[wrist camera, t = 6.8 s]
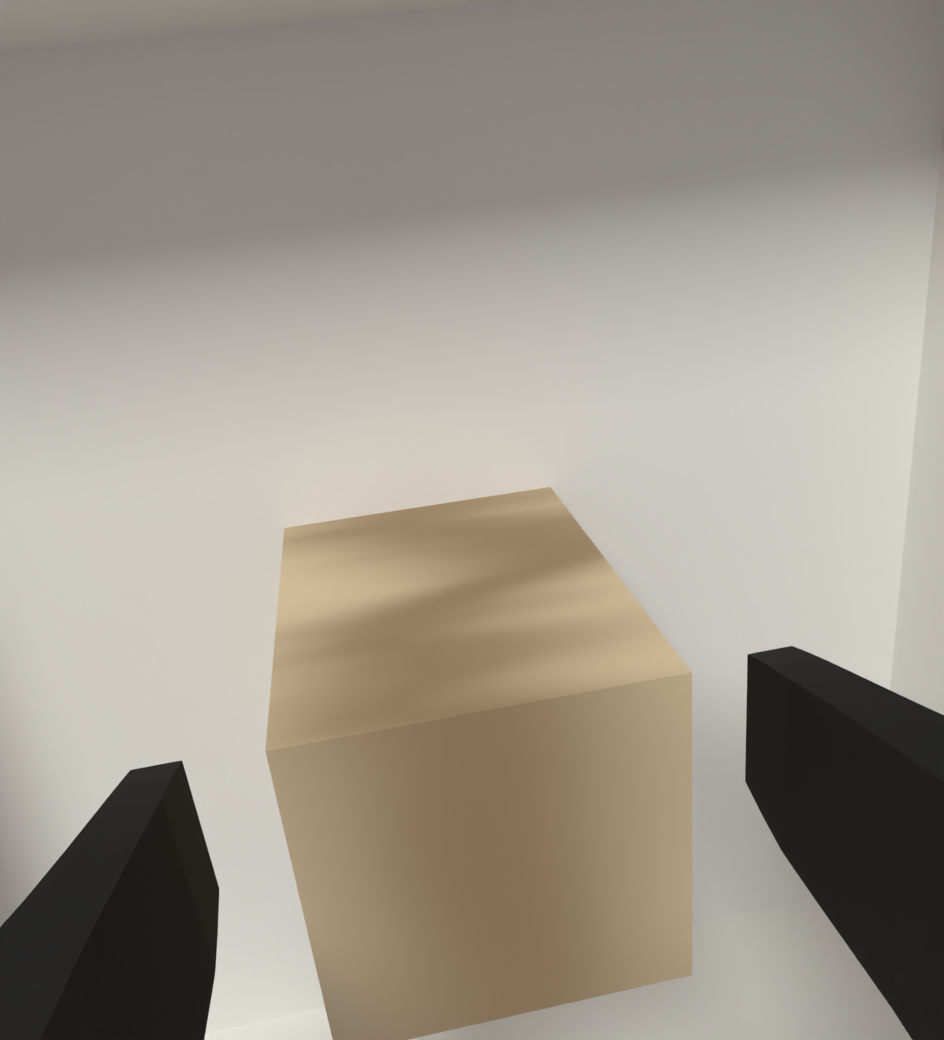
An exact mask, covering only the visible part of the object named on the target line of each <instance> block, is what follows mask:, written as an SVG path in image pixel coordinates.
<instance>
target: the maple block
mask: <svg viewBox="0 0 944 1040" xmlns="http://www.w3.org/2000/svg"><path fill="white" fill-rule="evenodd" d="M265 752H266V756H267V760H268V765H269V769H270V773H271V778H272V782H273V786H274V790H275V795H276V799H277V803H278V808H279V812H280V816H281V820H282V825H283V829H284V833H285V838H286V842H287V846H288V850H289V855H290V859H291V863H292V868H293V872H294V876H295V880H296V885H297V889H298V893H299V898H300V902H301V906H302V910H303V915H304V919H305V923H306V928H307V932H308V936H309V940H310V945H311V949H312V953H313V958H314V962H315V966H316V970H317V975H318V979H319V983H320V988H321V992H322V996H323V1000H324V1005H325V1009H326V1013H327V1018H328V1022H329V1026H330V1031H331V1035H332V1039H333V1040H409V1039H414V1038H418V1037H423V1036H427V1035H431V1034H436V1033H440V1032H444V1031H449V1030H453V1029H458V1028H462V1027H466V1026H471V1025H475V1024H480V1023H484V1022H488V1021H493V1020H497V1019H502V1018H506V1017H510V1016H515V1015H519V1014H524V1013H528V1012H532V1011H537V1010H541V1009H545V1008H550V1007H554V1006H559V1005H563V1004H567V1003H572V1002H576V1001H581V1000H585V999H589V998H594V997H598V996H603V995H607V994H611V993H616V992H620V991H625V990H629V989H633V988H638V987H642V986H646V985H651V984H655V983H660V982H664V981H668V980H673V979H677V978H682V977H686V976H690V975H692V672H691V671H690V669H689V668H688V667H687V666H686V664H685V663H684V662H683V660H682V659H681V658H680V656H679V655H678V654H677V652H676V651H675V650H674V648H673V647H672V646H671V645H670V643H669V642H668V641H667V639H666V638H665V637H664V635H663V634H662V633H661V631H660V630H659V629H658V627H657V626H656V625H655V623H654V622H653V621H652V620H651V618H650V617H649V616H648V614H647V613H646V612H645V610H644V609H643V608H642V606H641V605H640V604H639V602H638V601H637V600H636V599H635V597H634V596H633V595H632V593H631V592H630V591H629V589H628V588H627V587H626V585H625V584H624V583H623V581H622V580H621V579H620V578H619V576H618V575H617V574H616V572H615V571H614V570H613V568H612V567H611V566H610V564H609V563H608V562H607V560H606V559H605V558H604V556H603V555H602V554H601V553H600V551H599V550H598V549H597V547H596V546H595V545H594V543H593V542H592V541H591V539H590V538H589V537H588V535H587V534H586V533H585V532H584V530H583V529H582V528H581V526H580V525H579V524H578V522H577V521H576V520H575V518H574V517H573V516H572V514H571V513H570V512H569V511H568V509H567V508H566V507H565V505H564V504H563V503H562V501H561V500H560V499H559V497H558V496H557V495H556V493H555V492H554V491H553V489H552V488H551V487H546V488H540V489H534V490H527V491H521V492H514V493H508V494H501V495H495V496H488V497H482V498H475V499H469V500H462V501H456V502H449V503H443V504H436V505H430V506H423V507H417V508H410V509H404V510H398V511H391V512H385V513H378V514H372V515H365V516H359V517H352V518H346V519H339V520H333V521H326V522H320V523H313V524H307V525H300V526H294V527H287V528H284V537H283V549H282V561H281V573H280V584H279V596H278V608H277V620H276V632H275V643H274V655H273V667H272V679H271V690H270V702H269V714H268V726H267V737H266V749H265Z"/></svg>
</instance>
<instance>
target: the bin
mask: <svg viewBox="0 0 944 1040" xmlns="http://www.w3.org/2000/svg"><path fill="white" fill-rule="evenodd" d="M546 487H551V488H552V489H553V491H554V492H555V493H556V495H557V496H558V497H559V499H560V500H561V501H562V503H563V504H564V505H565V507H566V508H567V509H568V511H569V512H570V513H571V514H572V516H573V517H574V518H575V520H576V521H577V522H578V524H579V525H580V526H581V528H582V529H583V530H584V532H585V533H586V534H587V535H588V537H589V538H590V539H591V541H592V542H593V543H594V545H595V546H596V547H597V549H598V550H599V551H600V553H601V554H602V555H603V556H604V558H605V559H606V560H607V562H608V563H609V564H610V566H611V567H612V568H613V570H614V571H615V572H616V574H617V575H618V576H619V578H620V579H621V580H622V581H623V583H624V584H625V585H626V587H627V588H628V589H629V591H630V592H631V593H632V595H633V596H634V597H635V599H636V600H637V601H638V602H639V604H640V605H641V606H642V608H643V609H644V610H645V612H646V613H647V614H648V616H649V617H650V618H651V620H652V621H653V622H654V623H655V625H656V626H657V627H658V629H659V630H660V631H661V633H662V634H663V635H664V637H665V638H666V639H667V641H668V642H669V643H670V645H671V646H672V647H673V648H674V650H675V651H676V652H677V654H678V655H679V656H680V658H681V659H682V660H683V662H684V663H685V664H686V666H687V667H688V668H689V669H690V671H691V672H692V975H690V976H686V977H682V978H677V979H673V980H668V981H664V982H660V983H655V984H651V985H646V986H642V987H638V988H633V989H629V990H625V991H620V992H616V993H611V994H607V995H603V996H598V997H594V998H589V999H585V1000H581V1001H576V1002H572V1003H567V1004H563V1005H559V1006H554V1007H550V1008H545V1009H541V1010H537V1011H532V1012H528V1013H524V1014H519V1015H515V1016H510V1017H506V1018H502V1019H497V1020H493V1021H488V1022H484V1023H480V1024H475V1025H471V1026H466V1027H462V1028H458V1029H453V1030H449V1031H444V1032H440V1033H436V1034H431V1035H427V1036H423V1037H418V1038H414V1039H409V1040H912V1039H911V1037H910V1036H909V1034H908V1032H907V1031H906V1029H905V1028H904V1026H903V1025H902V1023H901V1022H900V1020H899V1019H898V1017H897V1016H896V1014H895V1012H894V1011H893V1009H892V1008H891V1006H890V1005H889V1004H888V1002H887V1001H886V999H885V998H884V996H883V995H882V994H881V992H880V991H879V989H878V988H877V987H876V985H875V984H874V982H873V981H872V979H871V978H870V977H869V975H868V974H867V972H866V971H865V970H864V968H863V967H862V965H861V964H860V962H859V961H858V960H857V958H856V957H855V955H854V954H853V953H852V951H851V950H850V948H849V947H848V945H847V944H846V943H845V941H844V940H843V938H842V937H841V936H840V934H839V933H838V931H837V930H836V928H835V927H834V926H833V924H832V923H831V921H830V920H829V919H828V917H827V916H826V914H825V913H824V912H823V910H822V909H821V907H820V906H819V904H818V903H817V902H816V900H815V899H814V897H813V896H812V894H811V893H810V891H809V890H808V889H807V887H806V886H805V884H804V883H803V881H802V880H801V878H800V877H799V876H798V874H797V873H796V871H795V870H794V868H793V867H792V865H791V864H790V863H789V861H788V860H787V858H786V857H785V855H784V854H783V852H782V851H781V849H780V847H779V845H778V843H777V842H776V840H775V838H774V836H773V834H772V832H771V831H770V829H769V827H768V825H767V823H766V821H765V820H764V818H763V816H762V814H761V812H760V810H759V808H758V806H757V804H756V802H755V800H754V798H753V796H752V794H751V792H750V790H749V788H748V786H747V784H746V782H745V763H746V709H747V655H748V654H751V653H757V652H762V651H767V650H773V649H778V648H783V647H789V646H794V647H796V648H799V649H801V650H804V651H806V652H809V653H811V654H813V655H816V656H818V657H820V658H822V659H825V660H827V661H829V662H831V663H833V664H836V665H838V666H840V667H842V668H844V669H846V670H848V671H851V672H853V673H855V674H857V675H859V676H861V677H863V678H865V679H867V680H870V681H872V682H874V683H876V684H878V685H880V686H882V687H884V688H886V689H888V690H891V691H893V692H895V693H897V694H899V695H901V696H903V697H905V698H908V699H910V700H912V701H914V702H916V703H918V704H920V705H923V706H925V707H927V708H929V709H931V710H933V711H936V712H938V713H940V714H942V715H944V0H0V927H1V925H2V924H3V923H4V922H5V921H6V920H7V919H8V918H9V917H10V915H11V914H12V913H13V912H14V911H15V910H16V909H17V908H18V907H19V905H20V904H21V903H22V902H23V901H24V900H25V899H26V897H27V896H28V895H29V894H30V893H31V891H32V890H33V889H34V888H35V887H36V885H37V884H38V883H39V882H40V881H41V879H42V878H43V877H44V876H45V875H46V873H47V872H48V871H49V870H50V868H51V867H52V866H53V865H54V864H55V862H56V861H57V860H58V859H59V858H60V856H61V855H62V854H63V853H64V852H65V850H66V849H67V848H68V847H69V845H70V844H71V843H72V842H73V840H74V839H75V838H76V837H77V835H78V834H79V833H80V832H81V830H82V829H83V828H84V827H85V825H86V824H87V823H88V822H89V820H90V819H91V818H92V817H93V815H94V814H95V813H96V812H97V810H98V809H99V808H100V807H101V805H102V804H103V803H104V802H105V800H106V799H107V798H108V797H109V795H110V794H111V793H112V792H113V790H114V789H115V788H116V787H117V785H118V784H119V783H120V782H121V781H122V779H123V778H124V777H125V776H126V775H127V773H128V772H129V771H130V770H133V769H138V768H144V767H149V766H154V765H160V764H165V763H170V762H176V761H181V760H182V762H183V765H184V769H185V772H186V776H187V779H188V783H189V786H190V790H191V793H192V796H193V800H194V803H195V807H196V810H197V814H198V817H199V821H200V824H201V827H202V831H203V834H204V838H205V841H206V845H207V848H208V852H209V855H210V859H211V862H212V865H213V869H214V872H215V876H216V879H217V883H218V886H219V912H218V936H217V953H216V970H215V977H214V984H213V990H212V996H211V1002H210V1008H209V1014H208V1020H207V1026H206V1032H205V1038H204V1040H333V1039H332V1035H331V1031H330V1026H329V1022H328V1018H327V1013H326V1009H325V1005H324V1000H323V996H322V992H321V988H320V983H319V979H318V975H317V970H316V966H315V962H314V958H313V953H312V949H311V945H310V940H309V936H308V932H307V928H306V923H305V919H304V915H303V910H302V906H301V902H300V898H299V893H298V889H297V885H296V880H295V876H294V872H293V868H292V863H291V859H290V855H289V850H288V846H287V842H286V838H285V833H284V829H283V825H282V820H281V816H280V812H279V808H278V803H277V799H276V795H275V790H274V786H273V782H272V778H271V773H270V769H269V765H268V760H267V756H266V752H265V749H266V737H267V726H268V714H269V702H270V690H271V679H272V667H273V655H274V643H275V632H276V620H277V608H278V596H279V584H280V573H281V561H282V549H283V537H284V528H287V527H294V526H300V525H307V524H313V523H320V522H326V521H333V520H339V519H346V518H352V517H359V516H365V515H372V514H378V513H385V512H391V511H398V510H404V509H410V508H417V507H423V506H430V505H436V504H443V503H449V502H456V501H462V500H469V499H475V498H482V497H488V496H495V495H501V494H508V493H514V492H521V491H527V490H534V489H540V488H546Z"/></svg>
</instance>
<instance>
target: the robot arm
mask: <svg viewBox="0 0 944 1040" xmlns="http://www.w3.org/2000/svg"><path fill="white" fill-rule="evenodd" d="M745 782H746V784H747V786H748V788H749V790H750V792H751V794H752V796H753V798H754V800H755V802H756V804H757V806H758V808H759V810H760V812H761V814H762V816H763V818H764V820H765V821H766V823H767V825H768V827H769V829H770V831H771V832H772V834H773V836H774V838H775V840H776V842H777V843H778V845H779V847H780V849H781V851H782V852H783V854H784V855H785V857H786V858H787V860H788V861H789V863H790V864H791V865H792V867H793V868H794V870H795V871H796V873H797V874H798V876H799V877H800V878H801V880H802V881H803V883H804V884H805V886H806V887H807V889H808V890H809V891H810V893H811V894H812V896H813V897H814V899H815V900H816V902H817V903H818V904H819V906H820V907H821V909H822V910H823V912H824V913H825V914H826V916H827V917H828V919H829V920H830V921H831V923H832V924H833V926H834V927H835V928H836V930H837V931H838V933H839V934H840V936H841V937H842V938H843V940H844V941H845V943H846V944H847V945H848V947H849V948H850V950H851V951H852V953H853V954H854V955H855V957H856V958H857V960H858V961H859V962H860V964H861V965H862V967H863V968H864V970H865V971H866V972H867V974H868V975H869V977H870V978H871V979H872V981H873V982H874V984H875V985H876V987H877V988H878V989H879V991H880V992H881V994H882V995H883V996H884V998H885V999H886V1001H887V1002H888V1004H889V1005H890V1006H891V1008H892V1009H893V1011H894V1012H895V1014H896V1016H897V1017H898V1019H899V1020H900V1022H901V1023H902V1025H903V1026H904V1028H905V1029H906V1031H907V1032H908V1034H909V1036H910V1037H911V1039H912V1040H944V715H942V714H940V713H938V712H936V711H933V710H931V709H929V708H927V707H925V706H923V705H920V704H918V703H916V702H914V701H912V700H910V699H908V698H905V697H903V696H901V695H899V694H897V693H895V692H893V691H891V690H888V689H886V688H884V687H882V686H880V685H878V684H876V683H874V682H872V681H870V680H867V679H865V678H863V677H861V676H859V675H857V674H855V673H853V672H851V671H848V670H846V669H844V668H842V667H840V666H838V665H836V664H833V663H831V662H829V661H827V660H825V659H822V658H820V657H818V656H816V655H813V654H811V653H809V652H806V651H804V650H801V649H799V648H796V647H794V646H789V647H783V648H778V649H773V650H767V651H762V652H757V653H751V654H748V655H747V709H746V763H745ZM218 912H219V886H218V883H217V879H216V876H215V872H214V869H213V865H212V862H211V859H210V855H209V852H208V848H207V845H206V841H205V838H204V834H203V831H202V827H201V824H200V821H199V817H198V814H197V810H196V807H195V803H194V800H193V796H192V793H191V790H190V786H189V783H188V779H187V776H186V772H185V769H184V765H183V762H182V760H181V761H176V762H170V763H165V764H160V765H154V766H149V767H144V768H138V769H133V770H130V771H129V772H128V773H127V775H126V776H125V777H124V778H123V779H122V781H121V782H120V783H119V784H118V785H117V787H116V788H115V789H114V790H113V792H112V793H111V794H110V795H109V797H108V798H107V799H106V800H105V802H104V803H103V804H102V805H101V807H100V808H99V809H98V810H97V812H96V813H95V814H94V815H93V817H92V818H91V819H90V820H89V822H88V823H87V824H86V825H85V827H84V828H83V829H82V830H81V832H80V833H79V834H78V835H77V837H76V838H75V839H74V840H73V842H72V843H71V844H70V845H69V847H68V848H67V849H66V850H65V852H64V853H63V854H62V855H61V856H60V858H59V859H58V860H57V861H56V862H55V864H54V865H53V866H52V867H51V868H50V870H49V871H48V872H47V873H46V875H45V876H44V877H43V878H42V879H41V881H40V882H39V883H38V884H37V885H36V887H35V888H34V889H33V890H32V891H31V893H30V894H29V895H28V896H27V897H26V899H25V900H24V901H23V902H22V903H21V904H20V905H19V907H18V908H17V909H16V910H15V911H14V912H13V913H12V914H11V915H10V917H9V918H8V919H7V920H6V921H5V922H4V923H3V924H2V925H1V927H0V1040H204V1038H205V1032H206V1026H207V1020H208V1014H209V1008H210V1002H211V996H212V990H213V984H214V977H215V970H216V953H217V936H218Z"/></svg>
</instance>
